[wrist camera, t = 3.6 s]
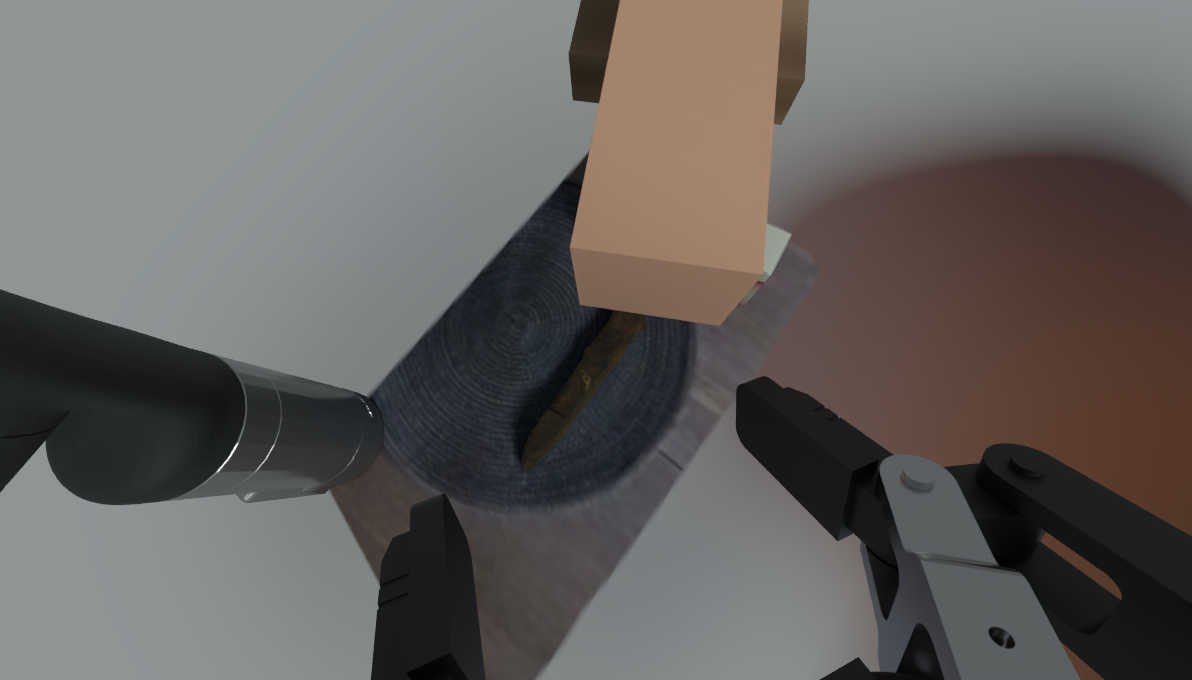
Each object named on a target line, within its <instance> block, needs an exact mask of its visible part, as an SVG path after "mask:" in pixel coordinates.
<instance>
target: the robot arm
mask: <svg viewBox="0 0 1192 680" xmlns="http://www.w3.org/2000/svg"><path fill="white" fill-rule="evenodd" d="M736 431H737V434H738V437H739V439H740V441H741V443H742V444H743V445H744V447H745V448H746V449H747V450H748V451H749V452H750V453H751V454H752V455H753V456H754V457H755V458H756V459H757V460H758V461H759V462H760V463H761V464H762V465H763V466H764V467H765V468H766V469H767V470H768V471H769V472H770V473H771V474H772V475H773V476H774V477H775V478H776V479H777V480H778V481H779V482H780V483H781V484H782V485H783V486H784V487H785V488H786V490H787V491H788V492H790V494H791V495H792V496H793V497H794V498H795V499H796V500H797V501H798V502H799V503H800V504H801V505H802V506H803V507H804V508H805V509H806V510H807V511H808V512H809V513H810V514H811V515H812V516H813V517H814V518H815V519H816V520H817V521H818V522H819V523H820V524H821V525H822V526H823V527H824V528H825V529H826V530H827V531H828V532H829V533H830V534H831V535H832V536H833V537H834V538H835V539H836V540H837V541H839V540H841V539H843V538H845V537H847V536H849V535H851V534H853V533H854V534H855V535H856V536H857V537H858V538H859V539H860V540H861V545H860V549H861V555H862V559H863V564H864V568H865V572H866V577H867V581H868V586H869V590H870V595H871V600H872V603H873V608H874V613H875V617H876V622H877V627H878V640H879V641H878V659H879V669H880V672H870V671H869V669H868V668H867V667H866V666H865V665H864V663H863V662H862V661H861V660H860V658H859V657H858V658H856V659H855V660H853V661H851V662H849V663H848V664H846V665H844V666H843V667H841V668H839V669H837V670H836V671H834V672H832V673H831V674H829V675H827V676H825V677H824V678H822V679H820V680H1080V678H1079V677H1078V675H1077V673H1076V671H1075V669H1074V667H1073V665H1072V663H1071V661H1070V659H1069V658H1068V656H1067V654H1066V652H1065V650H1064V648H1063V646H1062V645H1061V643H1060V641H1061V642H1062V643H1063V644H1064V645H1065V646H1066V647H1068V648H1069V649H1070V650H1071V651H1072V652H1073V653H1075V654H1076V655H1077V656H1078V657H1079V658H1080V659H1081V660H1083V661H1084V662H1085V663H1086V664H1087V665H1088V666H1090V667H1091V668H1092V669H1093V670H1094V671H1095V672H1096V673H1098V674H1099V675H1100V676H1101V677H1102V678H1103V679H1105V680H1192V536H1190V535H1188V534H1186V533H1185V532H1183V531H1181V530H1179V529H1178V528H1176V527H1174V526H1172V525H1171V524H1169V523H1167V522H1165V521H1163V520H1162V519H1160V518H1158V517H1156V516H1155V515H1153V514H1151V513H1150V512H1148V511H1146V510H1144V509H1142V508H1140V507H1139V506H1137V505H1135V504H1134V503H1132V502H1130V501H1128V500H1127V499H1125V498H1123V497H1121V496H1119V495H1118V494H1116V493H1114V492H1113V491H1111V490H1109V489H1107V488H1106V487H1104V486H1102V485H1100V484H1099V483H1097V482H1095V481H1093V480H1091V479H1090V478H1088V477H1086V476H1085V475H1083V474H1081V473H1079V472H1078V471H1076V470H1074V469H1072V468H1071V467H1069V466H1067V465H1065V464H1064V463H1062V462H1060V461H1058V460H1057V459H1055V458H1053V457H1051V456H1049V455H1047V454H1045V453H1043V452H1041V451H1038V450H1036V449H1033V448H1030V447H1026V446H1022V445H1017V444H995V445H992V446H990V447H988V448H987V449H986V450H985V452H984V454H983V456H982V459H981V462H980V463H979V464H968V465H959V466H949V467H942V466H940V465H939V464H937V463H935V462H933V461H931V460H928V459H926V458H923V457H919V456H915V455H908V454H907V455H906V454H899V455H893V454H891V453H890V452H889V451H887V450H886V449H884V448H882V447H881V446H880V445H879V444H877V443H876V442H874V441H873V440H871V439H870V438H869V437H867V436H866V435H865V434H863V433H862V432H860V431H859V430H857V429H856V428H855V427H853V426H852V425H850V424H849V423H848V422H846V421H845V420H843V419H842V418H838V416H837V415H836V414H835V413H833V412H832V411H831V410H829V409H828V408H826V409H825V407H824V406H823V405H822V404H821V403H819V402H818V401H816V400H815V399H814V398H812V397H811V396H809V395H808V394H805V393H803V392H800V391H797V390H795V389H792V388H789V387H787V388H782V387H781V386H779V385H778V384H777V383H775V382H774V381H773V380H771V379H770V378H768V377H765V376H762V377H759V378H756V379H754V380H751V381H748V382H746V383H743V384H740V385H739V386H738V387H737V391H736ZM383 436H384V425H383V421H382V416H381V414H380V412H379V410H378V408H377V407H376V405H375V404H374V403H373V402H372V401H371V400H370V399H368V398H367V397H366V396H364V395H361V394H359V393H357V392H353V391H350V390H347V389H341V388H338V387H334V386H331V385H327V384H323V383H319V382H315V381H312V380H308V379H304V378H300V377H296V376H293V375H289V374H285V373H281V372H277V371H274V370H270V369H266V368H262V367H259V366H255V365H251V364H247V363H243V362H239V361H235V360H232V359H228V358H224V357H220V356H217V355H212V354H209V353H206V352H202V351H198V350H194V349H190V348H187V347H184V346H180V345H177V344H174V343H171V342H168V341H164V340H161V339H158V338H155V337H152V336H149V335H146V334H143V333H139V332H136V331H132V330H129V329H126V328H122V327H119V326H115V325H111V324H108V323H104V322H101V321H98V320H94V319H90V318H87V317H84V316H81V315H78V314H74V313H71V312H68V311H65V310H61V309H58V308H55V307H52V306H48V305H46V304H43V303H40V302H36V301H34V300H31V299H27V298H25V297H21V296H18V295H15V294H12V293H9V292H6V291H3V290H0V492H1V491H2V490H3V489H4V487H5V485H7V484H8V482H9V481H10V480H11V479H12V478H13V477H14V476H15V475H16V474H17V472H18V471H19V470H20V469H21V468H22V467H23V466H24V464H25V463H26V462H27V461H28V460H29V459H30V458H31V456H32V455H33V454H34V453H35V452H36V451H37V449H38V448H39V447H40V446H41V445H42V444H43V442H44V441H45V440H46V452H47V457H48V461H49V464H50V466H51V469H52V471H53V473H54V474H55V476H56V477H57V479H58V480H59V482H60V483H61V484H62V485H63V486H64V487H66V488H67V489H68V490H69V491H71V492H72V493H73V494H75V495H76V496H78V497H80V498H82V499H84V500H87V501H90V502H95V503H100V504H108V505H127V504H128V505H129V504H142V503H152V502H161V501H171V500H181V499H192V498H202V497H211V496H221V495H232V494H236V495H237V496H238V497H239V498H240V500H242V501H243V502H246V503H252V502H259V501H268V500H277V499H285V498H293V497H301V496H309V495H316V494H324V493H326V492H327V491H328V490H329V489H330V488H331V487H332V486H334V485H338V484H342V483H346V482H348V481H350V480H352V479H355V478H356V477H358V476H359V475H360V474H362V473H363V472H365V471H366V469H367V468H368V467H369V466H370V465H371V464H372V463H373V461H374V460H375V458H376V457H377V455H378V453H379V450H380V448H381V445H382V441H383ZM1046 532H1047V533H1049V534H1050V535H1052V536H1053V537H1055V538H1056V539H1057V540H1059V541H1060V542H1062V543H1063V544H1064V545H1066V546H1067V547H1069V548H1070V549H1072V550H1073V551H1074V552H1076V553H1077V554H1079V555H1080V556H1081V557H1083V558H1084V559H1086V560H1087V561H1089V562H1090V563H1091V564H1093V565H1094V566H1096V567H1097V568H1099V569H1100V570H1101V571H1103V572H1104V573H1106V574H1107V575H1108V576H1109V577H1110V578H1111V579H1112V580H1113V581H1114V582H1115V583H1116V585H1117V586H1118V587H1119V589H1120V591H1121V594H1122V600H1120V599H1119V598H1117V597H1116V596H1114V595H1113V594H1112V593H1110V592H1109V591H1107V590H1106V589H1105V588H1103V587H1102V586H1100V585H1099V584H1098V583H1096V582H1095V581H1094V580H1092V579H1091V578H1089V577H1088V576H1087V575H1085V574H1084V573H1082V572H1081V571H1080V570H1078V569H1077V568H1076V567H1074V566H1073V565H1072V564H1070V563H1069V562H1067V561H1066V560H1065V559H1063V558H1062V557H1061V556H1059V555H1058V554H1056V553H1055V552H1054V551H1052V550H1051V549H1050V548H1048V547H1047V546H1045V545H1044V544H1042V543H1041V542H1040V541H1041V539H1042V538H1043V536H1044V534H1045V533H1046ZM378 607H379V609H378V610H377V620H376V631H375V641H374V653H373V663H372V674H371V680H485V672H484V663H483V654H482V645H481V637H480V628H479V619H478V610H477V602H476V593H475V584H474V575H473V567H472V558H471V553H470V548H469V545H468V541H467V538H466V535H465V533H464V531H463V529H462V527H461V524H460V522H459V520H458V518H457V516H456V514H455V512H454V510H453V508H452V506H451V503H450V501H449V499H448V497H447V496H446V494H441V495H439V496H436V497H433V498H431V499H428V500H425V501H423V502H420V503H417V504H414V505H412V507H411V512H410V531H409V532H406V533H404V534H401V535H398V536H396V537H393V539H392V541H391V543H390V545H389V547H388V549H387V551H386V553H385V555H384V558H383V560H382V563H381V574H380V589H379V597H378Z"/></svg>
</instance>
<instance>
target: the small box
mask: <svg viewBox="0 0 1192 680" xmlns="http://www.w3.org/2000/svg"><path fill="white" fill-rule="evenodd" d="M790 237H791V234H790V233H788V232H787V231H785V230H783V229H781V228H778V227H777V226H775V225H772V224H770V223H768V222H767V225H766V239H765V253H764V267H763V275H762V276H761V278H760V279H759V280H758V281H757V282H756V283H755V285H754V286H753V287H752V288H751V289H750V290H749V292H748V293H747V294H746V295H745V296H744V298H743V299H742V300H741V301H740V302H739V304H741V305H745V304H746V303H747V302H748V301H749V300H750V298H751V297H752V296H753V295H754V294H755V293H756V291H757V290H758V289H759V288H760V287H761V286H762V284H763V283H764V282H765V281H766V280H767V279H768V277H769V276H770V275H771V274H772V272H773V270H774V269H775V267H776V265H777V263H778V261H779V259H780V258H781V256H782V254H783V252H784V250H785V248H786V246H787V243H788V241H789V239H790Z"/></svg>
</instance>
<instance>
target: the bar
mask: <svg viewBox="0 0 1192 680" xmlns="http://www.w3.org/2000/svg"><path fill="white" fill-rule="evenodd" d="M782 2H783V0H620V3H619V8H618V13H617V18H616V22H615V27H614V32H613V37H612V42H611V47H610V52H609V57H608V62H607V67H606V72H605V77H604V82H603V87H602V92H601V97H600V101H599V107H598V111H597V116H596V121H595V127H594V131H593V136H592V141H591V146H590V151H589V156H588V161H587V166H586V171H585V176H584V180H583V185H582V190H581V195H580V200H579V205H578V210H577V215H576V220H575V225H574V230H573V235H572V240H571V245H570V250H571V256H572V262H573V268H574V273H575V279H576V285H577V291H578V296H579V302H580V305H585V306H591V307H598V308H605V309H611V310H618V311H625V312H631V313H638V314H644V315H651V316H658V317H664V318H671V319H678V320H684V321H691V322H698V323H704V324H711V325H717V326H720V325H721V323H722V322H723V321H724V320H725V319H726V318H727V316H728V315H729V314H730V313H731V312H732V310H733V309H734V308H735V307H736V306H737V305H738V303H739V302H740V301H741V300H742V299H743V298H744V296H745V295H746V294H747V293H748V292H749V290H750V289H751V288H752V287H753V286H754V285H755V283H756V282H757V281H758V280H759V279H760V278H761V276H762V275H763V267H764V253H765V239H766V225H767V211H768V197H769V183H770V169H771V156H772V142H773V128H774V114H775V100H776V86H777V72H778V58H779V44H780V30H781V16H782Z"/></svg>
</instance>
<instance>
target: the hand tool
mask: <svg viewBox="0 0 1192 680" xmlns="http://www.w3.org/2000/svg"><path fill="white" fill-rule="evenodd" d="M647 327H648V321H647V319H646V318H645V316H644V315H642V314H638V313H631V312H625V311H618V310H613V312H612V315H611V318H610V320H609V321H608V323H607V324H606V325H605V327H604V328H603V330H602V331H601V333H600V334H599V335H598V336H597V337H596V338H595V339H594V340H593V341H592V343H591V345H589V346H587V347H586V348H585V350H584V355H583V358H582V360H581V362H580V363H579V365H578V366H577V368H576V369H575V370H574V372H573V373H572V374H571V376H570V378H569V379H568V381H567V382H566V384H565V385H564V387H563V388H562V390H561V391H560V393H559V394H558V396H557V397H556V398H555V400H554V401H553V403H552V404H551V405H550V407H549V409H547V410H546V411H545V412H544V413H543V415H542V416H541V417H540V419H539V421H538V423H537V424H536V425H535V426H534V428H533V430H532V432H531V434H530V436H529V437H528V439H527V441H526V443H525V446H524V452H523V455H522V462H521V469H522V471H523V472H526V471H530V470H532V469H533V468H534V467H535V466H536V465H537V464H538V463H539V462H540V461H542V460H544V459H545V458H546V456H547V455H548V454H549V453H550V452H551V451H552V449H553V448H554V447H555V446H556V445H557V444H558V443H559V442H560V441H561V440H562V439H563V437H565V436H566V434H567V432H568V430H569V429H570V427H571V425H572V424H573V422H574V421H575V420H576V418H577V417H578V416H579V414H580V413H581V412H582V410H583V409H584V408H585V406H586V405H587V404H588V402H589V401H590V400H591V398H592V397H593V396H594V394H595V393H596V391H597V390H598V388H599V387H600V385H601V384H602V382H603V381H604V380H605V378H606V377H607V375H608V374H609V373H610V372H611V371H612V369H613V368H614V367H615V366H616V365H617V363H618V362H619V360H620V358H621V357H622V355H623V354H624V353H625V351H626V348H627V347H628V346H629V344H630V343H631V342H632V340H633V339H634V338H635V336H636V335H637V334H638V333H639V332H640V331H642V330H646V329H647Z"/></svg>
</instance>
